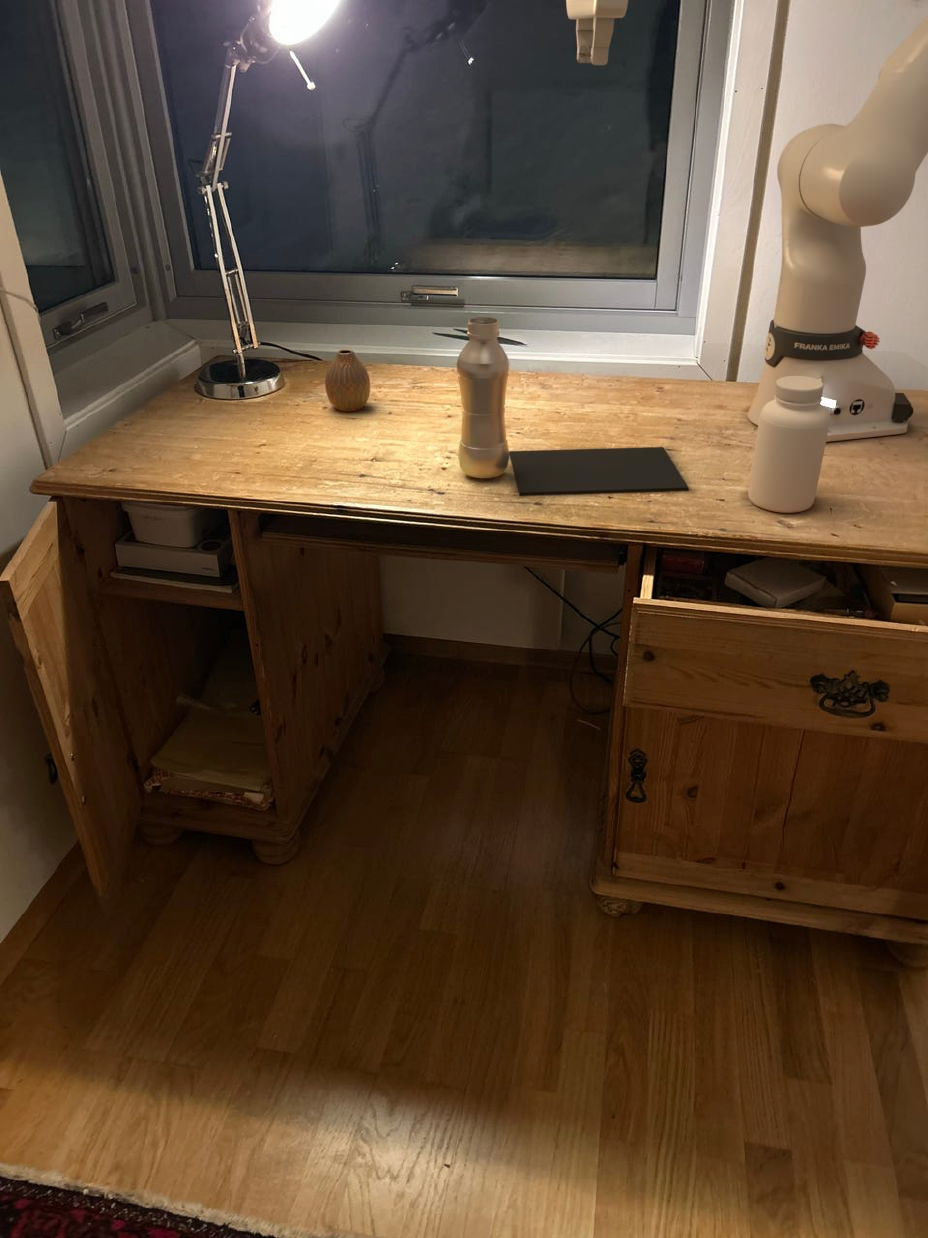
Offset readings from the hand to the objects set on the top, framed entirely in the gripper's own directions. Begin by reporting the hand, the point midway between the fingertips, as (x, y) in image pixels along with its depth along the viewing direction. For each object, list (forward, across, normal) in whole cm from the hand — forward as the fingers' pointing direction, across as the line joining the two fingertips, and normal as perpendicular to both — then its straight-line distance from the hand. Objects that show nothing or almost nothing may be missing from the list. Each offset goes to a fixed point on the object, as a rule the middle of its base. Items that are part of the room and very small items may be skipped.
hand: (591, 63), depth 115 cm
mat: (+46, -15, -2) cm, 49 cm away
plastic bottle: (+47, -15, +13) cm, 51 cm away
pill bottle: (+46, -26, -23) cm, 58 cm away
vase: (+47, +13, +32) cm, 58 cm away
